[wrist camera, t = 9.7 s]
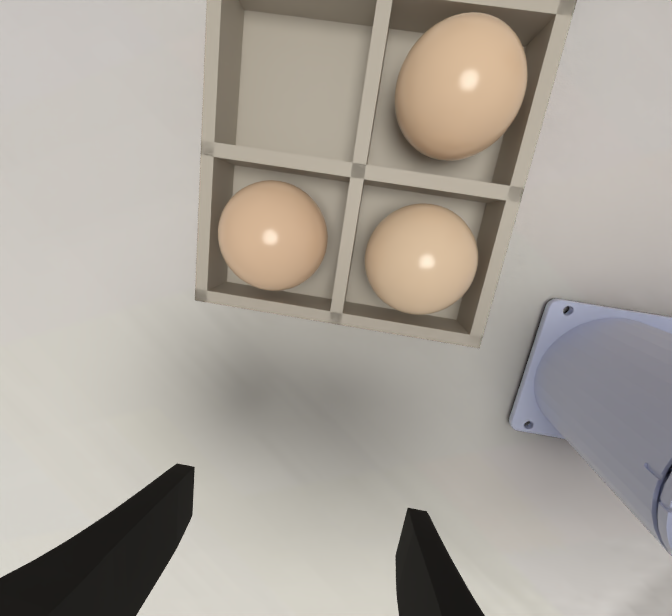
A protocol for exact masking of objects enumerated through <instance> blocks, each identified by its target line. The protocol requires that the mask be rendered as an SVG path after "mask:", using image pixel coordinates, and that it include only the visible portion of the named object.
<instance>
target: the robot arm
mask: <svg viewBox="0 0 672 616" xmlns="http://www.w3.org/2000/svg"><path fill="white" fill-rule="evenodd" d="M567 306H569V311H568V312H567V313H563V309H564V308H565V307H567ZM527 421H530V423H529V424H528V425H524V424H525V423H526V422H527ZM509 423H510V425H511V426H512V428H513V429H515V430H517V431H523V432H529V433H534V434H540V435H545V436H551V437H556V438H562V439H566V440H567V441H568V442H569V443H570V445H571V446H572V447H573V448H574V449H575V450H576V451H577V452H578V453H579V454H580V456H581V457H582V458H583V459H584V460H585V461H586V462H587V463H588V464H589V466H590V467H591V468H592V469H593V470H594V471H595V472H596V473H597V474H598V475H599V477H600V478H601V479H602V480H603V481H604V482H605V483H606V484H607V485H608V486H609V488H610V489H611V490H612V491H613V492H614V493H615V494H616V495H617V496H618V498H619V499H620V500H621V501H622V502H623V503H624V504H625V505H626V506H627V507H628V509H629V510H630V511H631V512H632V513H633V514H634V515H635V516H636V517H637V519H638V520H639V521H640V522H641V523H642V524H643V525H644V526H645V527H646V528H647V530H648V531H649V532H650V533H651V534H652V535H653V536H654V537H655V538H656V540H657V541H658V542H659V543H660V544H661V545H662V546H663V547H664V548H665V549H666V551H667V552H668V553H669V554H670V555H671V556H672V317H669V316H663V315H656V314H650V313H644V312H638V311H632V310H625V309H619V308H613V307H607V306H601V305H594V304H588V303H582V302H576V301H570V300H563V299H552V300H550V301H549V302H548V303H547V305H546V307H545V310H544V313H543V316H542V319H541V322H540V325H539V328H538V331H537V334H536V338H535V341H534V344H533V347H532V350H531V353H530V356H529V359H528V362H527V365H526V368H525V371H524V375H523V378H522V381H521V384H520V387H519V390H518V393H517V396H516V399H515V402H514V405H513V409H512V412H511V415H510V418H509ZM194 468H195V467H192V466H187V465H182V464H176V465H174V466H173V467H172V468H170V469H169V470H167V471H166V472H165V473H163V474H162V475H161V476H159V477H158V478H157V479H155V480H154V481H153V482H151V483H150V484H149V485H147V486H146V487H145V488H143V489H142V490H141V491H139V492H138V493H137V494H135V495H134V496H132V497H131V498H130V499H128V500H127V501H125V502H124V503H123V504H121V505H120V506H118V507H117V508H116V509H114V510H113V511H111V512H110V513H109V514H107V515H106V516H104V517H103V518H101V519H100V520H98V521H97V522H95V523H94V524H92V525H91V526H89V527H88V528H86V529H84V530H83V531H81V532H80V533H78V534H77V535H75V536H74V537H72V538H70V539H69V540H67V541H66V542H64V543H62V544H61V545H59V546H57V547H56V548H54V549H52V550H51V551H49V552H47V553H45V554H44V555H42V556H40V557H39V558H37V559H35V560H33V561H31V562H30V563H28V564H26V565H24V566H22V567H20V568H18V569H16V570H15V571H13V572H11V573H9V574H7V575H5V576H3V577H1V578H0V616H136V615H137V613H138V612H139V610H140V608H141V607H142V605H143V603H144V602H145V600H146V598H147V597H148V595H149V594H150V592H151V590H152V589H153V587H154V585H155V584H156V582H157V580H158V579H159V577H160V576H161V574H162V572H163V571H164V569H165V567H166V566H167V564H168V562H169V561H170V559H171V557H172V556H173V554H174V552H175V550H176V549H177V547H178V545H179V543H180V541H181V538H182V536H183V534H184V532H185V530H186V528H187V526H188V524H189V522H190V519H191V517H192V511H193V489H194ZM396 591H397V602H398V610H399V616H485V615H484V614H483V612H482V611H481V609H480V607H479V606H478V604H477V603H476V601H475V599H474V598H473V596H472V594H471V593H470V591H469V589H468V588H467V586H466V584H465V582H464V581H463V579H462V577H461V575H460V574H459V572H458V570H457V568H456V567H455V565H454V563H453V561H452V559H451V557H450V556H449V554H448V552H447V550H446V548H445V546H444V544H443V542H442V540H441V538H440V536H439V534H438V532H437V530H436V528H435V526H434V524H433V522H432V520H431V518H430V516H429V514H428V513H427V511H422V510H417V509H411V508H408V509H407V513H406V517H405V521H404V525H403V529H402V533H401V536H400V540H399V544H398V548H397V552H396Z"/></svg>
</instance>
